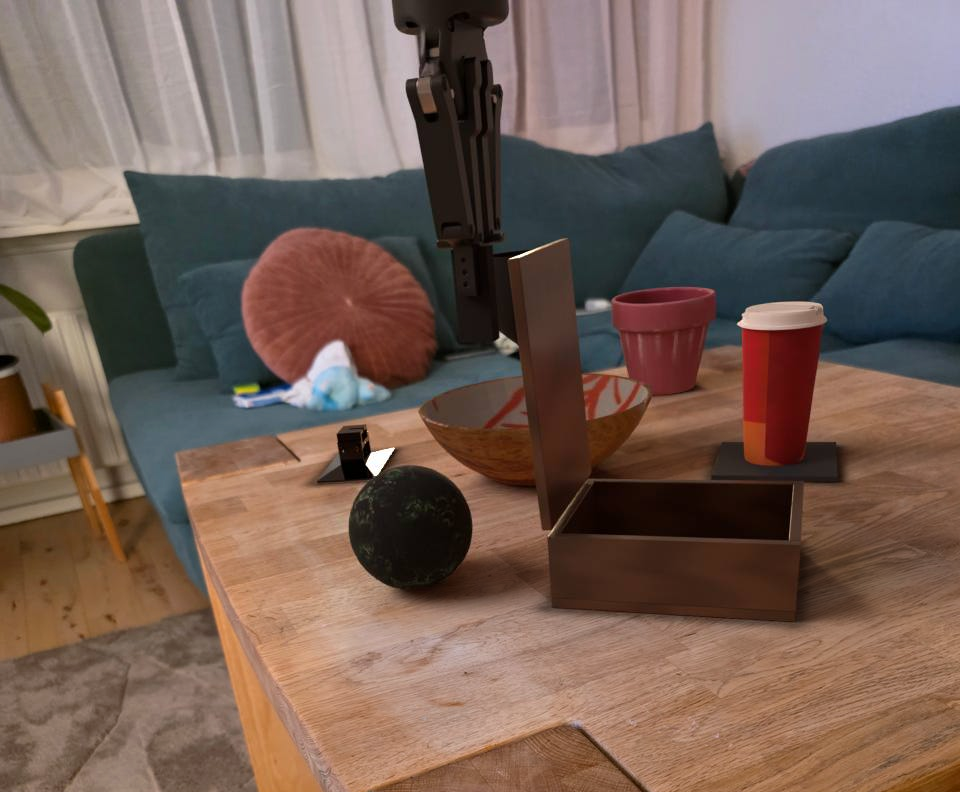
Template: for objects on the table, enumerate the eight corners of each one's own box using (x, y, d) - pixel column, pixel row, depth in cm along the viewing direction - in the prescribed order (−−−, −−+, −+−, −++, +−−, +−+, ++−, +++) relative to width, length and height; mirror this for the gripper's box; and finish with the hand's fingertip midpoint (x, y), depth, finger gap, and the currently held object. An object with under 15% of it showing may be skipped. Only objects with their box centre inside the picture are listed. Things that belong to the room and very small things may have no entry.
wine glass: (477, 407, 129) (464, 258, 120) (529, 391, 135) (519, 248, 125) (527, 415, 122) (517, 257, 112) (579, 399, 127) (573, 247, 118)
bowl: (630, 512, 85) (629, 429, 81) (391, 506, 93) (379, 430, 89) (669, 438, 106) (669, 369, 102) (470, 439, 114) (464, 375, 110)
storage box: (798, 548, 74) (804, 480, 71) (794, 622, 62) (800, 545, 60) (589, 541, 79) (587, 478, 77) (551, 607, 68) (547, 536, 65)
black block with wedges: (376, 481, 102) (369, 441, 100) (314, 485, 103) (306, 446, 100) (395, 449, 113) (389, 413, 110) (339, 453, 114) (332, 417, 111)
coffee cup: (825, 449, 94) (838, 299, 87) (801, 472, 88) (814, 314, 82) (747, 443, 99) (754, 300, 92) (720, 465, 93) (725, 314, 86)
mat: (835, 447, 97) (836, 441, 96) (837, 482, 87) (837, 476, 87) (722, 447, 101) (722, 441, 100) (711, 480, 91) (711, 475, 90)
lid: (568, 238, 68) (558, 239, 68) (518, 257, 57) (507, 259, 57) (591, 473, 76) (582, 473, 77) (552, 530, 65) (541, 531, 65)
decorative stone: (355, 617, 70) (334, 495, 65) (361, 567, 79) (343, 457, 74) (482, 602, 70) (469, 480, 65) (474, 555, 79) (462, 444, 74)
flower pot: (670, 403, 120) (671, 303, 114) (593, 393, 130) (590, 300, 124) (733, 382, 128) (737, 287, 122) (656, 373, 138) (656, 285, 132)
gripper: (428, -22, 63) (461, 327, 74) (347, -55, 52) (400, 359, 63) (531, -41, 60) (549, 323, 71) (467, -80, 50) (501, 356, 60)
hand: (479, 340), depth 67 cm, fingers closed
